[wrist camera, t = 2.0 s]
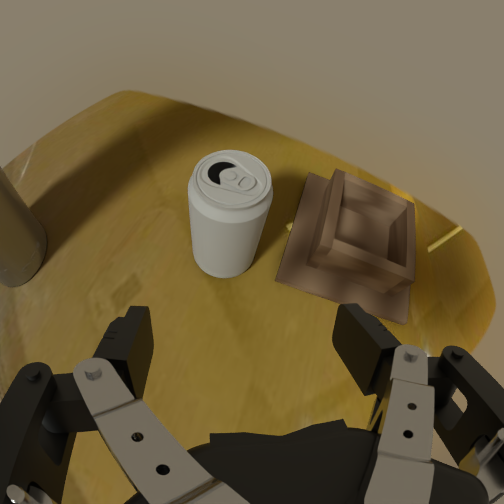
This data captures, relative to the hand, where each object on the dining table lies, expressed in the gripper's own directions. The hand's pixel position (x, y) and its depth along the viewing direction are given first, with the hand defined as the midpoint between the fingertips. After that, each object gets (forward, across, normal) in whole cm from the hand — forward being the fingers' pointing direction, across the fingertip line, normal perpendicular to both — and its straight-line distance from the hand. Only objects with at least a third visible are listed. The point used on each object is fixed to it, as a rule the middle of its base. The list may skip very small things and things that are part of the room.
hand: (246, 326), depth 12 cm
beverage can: (+19, 0, +3) cm, 19 cm away
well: (+20, -16, +2) cm, 25 cm away
